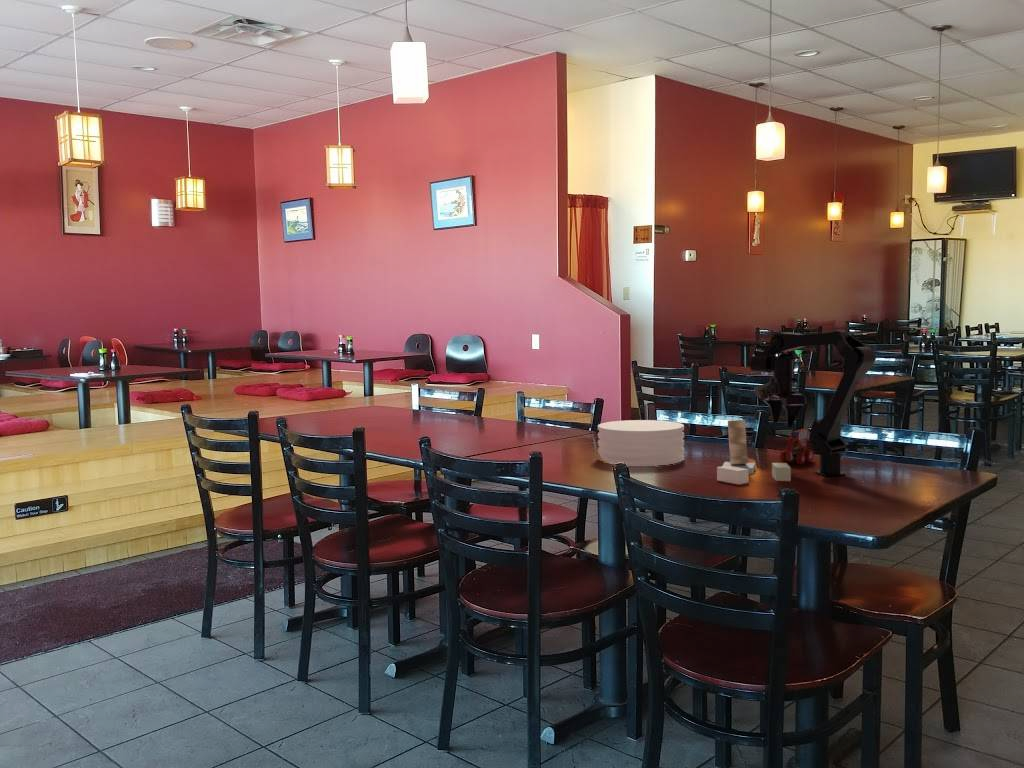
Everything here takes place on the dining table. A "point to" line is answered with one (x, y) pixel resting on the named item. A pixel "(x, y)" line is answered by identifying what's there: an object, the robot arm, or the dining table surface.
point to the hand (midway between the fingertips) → (782, 424)
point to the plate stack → (641, 442)
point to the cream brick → (733, 474)
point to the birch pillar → (737, 442)
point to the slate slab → (742, 466)
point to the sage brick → (781, 471)
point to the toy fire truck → (797, 448)
